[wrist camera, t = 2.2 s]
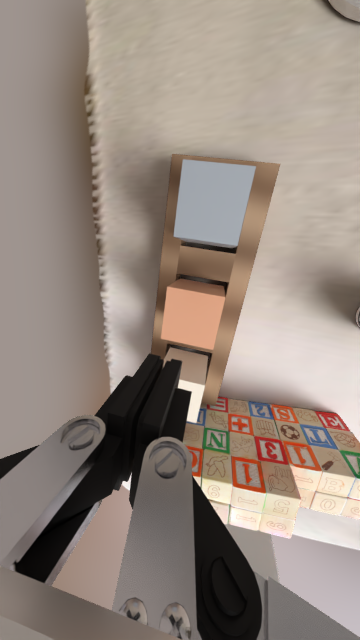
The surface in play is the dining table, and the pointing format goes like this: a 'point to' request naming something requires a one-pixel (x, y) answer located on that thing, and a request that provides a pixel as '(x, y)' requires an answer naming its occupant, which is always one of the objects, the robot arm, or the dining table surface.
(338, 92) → the dining table surface
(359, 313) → the supplement bottle
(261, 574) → the small box
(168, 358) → the button cream
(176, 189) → the button board
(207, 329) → the peach block
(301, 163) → the dining table surface
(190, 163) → the button slate
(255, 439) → the stack of blocks
